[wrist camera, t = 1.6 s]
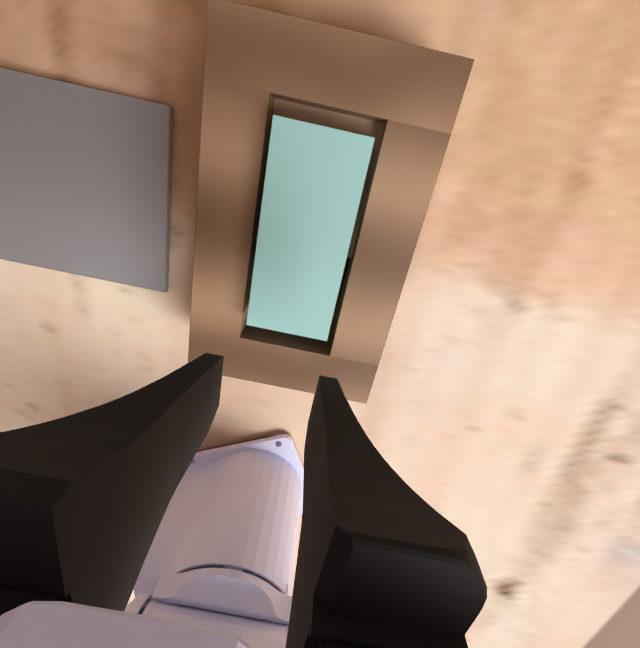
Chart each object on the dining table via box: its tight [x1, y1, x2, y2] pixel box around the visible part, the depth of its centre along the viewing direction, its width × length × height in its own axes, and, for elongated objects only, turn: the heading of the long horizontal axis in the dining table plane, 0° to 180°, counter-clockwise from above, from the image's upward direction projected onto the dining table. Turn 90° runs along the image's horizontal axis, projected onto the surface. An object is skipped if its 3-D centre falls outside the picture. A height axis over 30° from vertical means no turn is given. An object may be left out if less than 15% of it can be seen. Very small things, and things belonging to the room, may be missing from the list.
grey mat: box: [0, 67, 173, 292], centre depth 19 cm, size 10×10×1 cm
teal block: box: [246, 115, 375, 341], centre depth 16 cm, size 9×4×2 cm, turn 169°
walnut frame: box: [188, 0, 474, 403], centre depth 18 cm, size 16×10×4 cm, turn 169°
